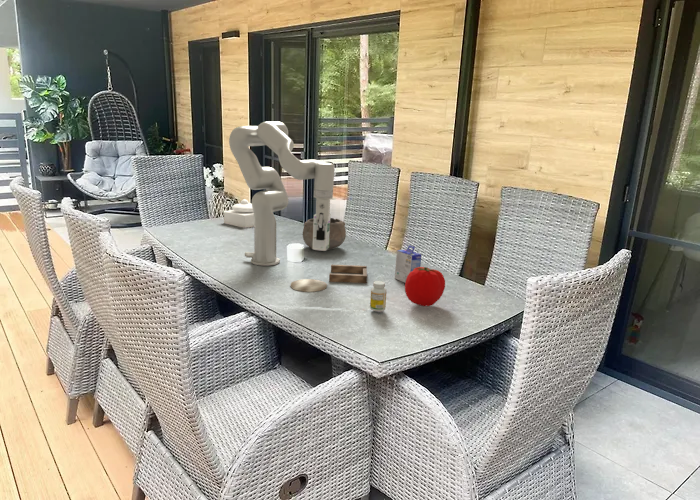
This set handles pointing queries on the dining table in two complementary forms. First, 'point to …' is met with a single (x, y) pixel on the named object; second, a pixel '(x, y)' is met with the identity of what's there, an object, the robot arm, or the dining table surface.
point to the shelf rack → (348, 277)
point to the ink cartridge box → (406, 263)
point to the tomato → (424, 286)
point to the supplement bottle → (378, 296)
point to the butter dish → (240, 215)
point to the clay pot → (335, 233)
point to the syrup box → (324, 244)
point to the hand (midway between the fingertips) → (320, 237)
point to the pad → (308, 285)
